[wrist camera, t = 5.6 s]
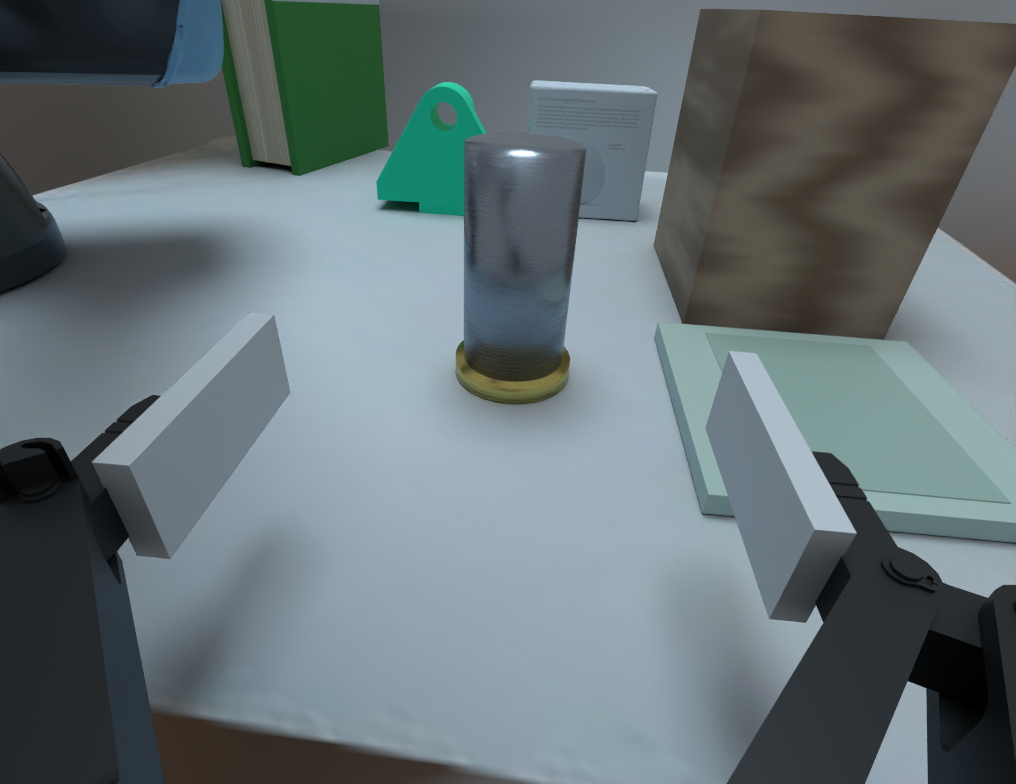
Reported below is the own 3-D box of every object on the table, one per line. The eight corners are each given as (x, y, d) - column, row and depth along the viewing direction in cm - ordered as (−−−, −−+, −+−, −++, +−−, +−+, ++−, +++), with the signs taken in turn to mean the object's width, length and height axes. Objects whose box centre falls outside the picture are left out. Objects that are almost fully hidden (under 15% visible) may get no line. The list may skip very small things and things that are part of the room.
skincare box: (629, 202, 56) (649, 83, 51) (637, 222, 51) (660, 92, 45) (524, 195, 57) (532, 76, 51) (522, 215, 51) (530, 84, 45)
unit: (683, 324, 35) (761, 9, 26) (653, 245, 46) (700, 8, 37) (892, 340, 34) (1048, 25, 25) (809, 256, 46) (896, 20, 37)
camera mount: (517, 197, 57) (523, 80, 51) (512, 220, 50) (518, 91, 45) (398, 189, 57) (391, 72, 51) (379, 211, 51) (368, 82, 45)
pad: (702, 513, 22) (709, 492, 21) (654, 337, 33) (658, 320, 33) (1083, 549, 21) (1101, 529, 20) (899, 356, 33) (907, 340, 32)
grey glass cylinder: (447, 398, 27) (442, 155, 21) (464, 339, 32) (465, 127, 26) (568, 408, 27) (600, 166, 21) (567, 348, 32) (593, 136, 25)
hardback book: (299, 175, 59) (251, -136, 45) (242, 166, 61) (179, -135, 47) (388, 146, 73) (371, -100, 59) (339, 139, 75) (312, -100, 61)
